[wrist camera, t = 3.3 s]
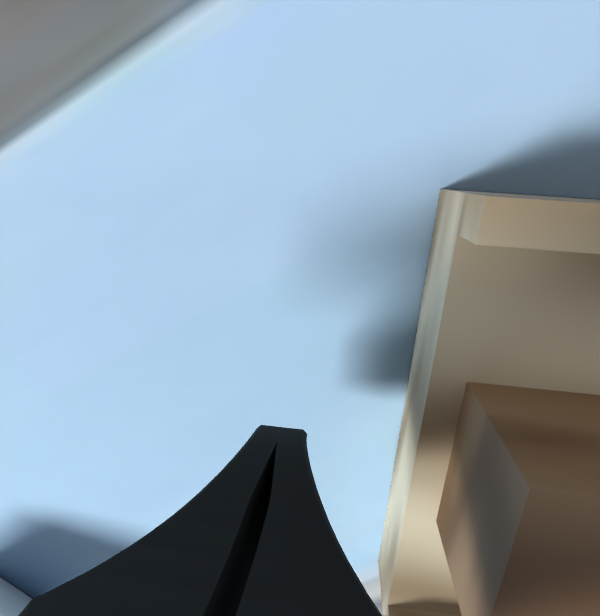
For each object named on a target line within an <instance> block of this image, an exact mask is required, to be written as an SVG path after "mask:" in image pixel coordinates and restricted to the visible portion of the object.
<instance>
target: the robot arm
mask: <svg viewBox="0 0 600 616" xmlns="http://www.w3.org/2000/svg"><path fill="white" fill-rule="evenodd" d="M306 438H307V433H306V432H305V431H304V430H301V429H292V428H283V427H274V426H265V425H261V426H259V427H258V428H257V429H256V430H255V432H254V433H253V434H252V436H251V437H250V438H249V440H248V441H247V442H246V443H245V445H244V446H243V447H242V448H241V449H240V451H239V452H238V453H237V454H236V455H235V456H234V457H233V459H232V460H231V461H230V462H229V463H228V464H227V465H226V466H225V467H224V469H223V470H222V471H221V472H220V473H219V474H218V475H217V476H216V477H215V478H214V479H213V480H212V481H211V482H210V483H209V484H208V485H207V486H206V487H205V488H203V489H202V490H201V491H200V492H199V493H198V494H197V495H196V496H195V497H194V498H193V499H192V500H190V501H189V502H188V503H187V504H186V505H185V506H183V507H182V508H181V509H180V510H179V511H177V512H176V513H175V514H174V515H172V516H171V517H170V518H169V519H167V520H166V521H165V522H163V523H162V524H161V525H159V526H158V527H157V528H155V529H154V530H152V531H151V532H150V533H148V534H147V535H146V536H144V537H143V538H141V539H140V540H138V541H137V542H135V543H134V544H132V545H131V546H129V547H128V548H126V549H124V550H123V551H121V552H120V553H118V554H116V555H115V556H113V557H112V558H110V559H108V560H107V561H105V562H103V563H102V564H100V565H98V566H96V567H95V568H93V569H91V570H89V571H87V572H86V573H84V574H82V575H80V576H78V577H76V578H74V579H72V580H70V581H68V582H66V583H64V584H62V585H61V586H59V587H57V588H55V589H53V590H51V591H49V592H47V593H45V594H43V595H41V596H39V597H37V598H34V599H32V600H31V601H30V602H29V603H28V604H27V606H26V607H25V608H24V609H23V611H22V612H21V613H20V614H19V615H18V616H382V615H381V613H380V612H379V610H378V609H377V607H376V606H375V604H374V603H373V601H372V600H371V598H370V597H369V595H368V594H367V592H366V590H365V589H364V587H363V585H362V583H361V582H360V580H359V578H358V577H357V575H356V573H355V572H354V570H353V568H352V566H351V565H350V563H349V561H348V560H347V558H346V556H345V554H344V552H343V550H342V548H341V546H340V544H339V542H338V540H337V538H336V536H335V533H334V531H333V529H332V527H331V525H330V522H329V520H328V518H327V515H326V513H325V510H324V507H323V505H322V502H321V499H320V497H319V494H318V491H317V488H316V484H315V481H314V477H313V474H312V470H311V466H310V462H309V457H308V451H307V442H306Z"/></svg>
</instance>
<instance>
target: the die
mask: <svg viewBox="0 0 600 616" xmlns="http://www.w3.org/2000/svg"><path fill="white" fill-rule="evenodd" d="M31 600H32V598H31V597H29V596H28V595H26V594H25V593H23V592H22V591H20V590H19V589H17V588H16V587H14V586H13V585H11V584H10V583H8V582H7V581H5V580H4V579H2V578H1V577H0V616H18V615H19V614H20V613H21V612H22V611H23V609H24V608H25V607H26V606H27V604H28V603H29V602H30V601H31Z"/></svg>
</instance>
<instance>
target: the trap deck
mask: <svg viewBox="0 0 600 616" xmlns="http://www.w3.org/2000/svg"><path fill="white" fill-rule="evenodd" d="M467 382H475V383H485V384H495V385H505V386H515V387H524V388H534V389H544V390H554V391H564V392H574V393H584V394H594V395H600V200H599V199H584V198H569V197H554V196H539V195H524V194H509V193H494V192H479V191H464V190H449V189H441V190H440V196H439V202H438V208H437V214H436V220H435V226H434V232H433V238H432V244H431V250H430V255H429V261H428V267H427V273H426V279H425V285H424V291H423V297H422V303H421V309H420V315H419V321H418V327H417V333H416V339H415V345H414V351H413V357H412V363H411V369H410V375H409V381H408V387H407V393H406V399H405V405H404V411H403V417H402V423H401V429H400V435H399V441H398V447H397V453H396V459H395V465H394V471H393V477H392V483H391V488H390V494H389V500H388V506H387V512H386V518H385V524H384V530H383V536H382V542H381V548H380V554H379V560H378V564H379V574H380V585H381V596H382V607H383V616H462V615H461V611H460V607H459V603H458V600H457V596H456V592H455V589H454V585H453V581H452V578H451V574H450V570H449V567H448V563H447V559H446V555H445V552H444V548H443V544H442V541H441V537H440V533H439V530H438V526H437V522H436V519H437V515H438V510H439V505H440V501H441V496H442V492H443V487H444V483H445V478H446V474H447V469H448V465H449V460H450V456H451V451H452V446H453V442H454V437H455V433H456V428H457V424H458V419H459V415H460V410H461V406H462V401H463V397H464V392H465V387H466V383H467Z"/></svg>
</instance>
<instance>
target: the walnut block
mask: <svg viewBox="0 0 600 616" xmlns="http://www.w3.org/2000/svg"><path fill="white" fill-rule="evenodd" d="M436 522H437V526H438V530H439V533H440V537H441V541H442V544H443V548H444V552H445V555H446V559H447V563H448V567H449V570H450V574H451V578H452V581H453V585H454V589H455V592H456V596H457V600H458V603H459V607H460V611H461V615H462V616H600V395H594V394H584V393H574V392H564V391H554V390H544V389H534V388H524V387H515V386H505V385H495V384H485V383H475V382H467V383H466V387H465V392H464V397H463V401H462V406H461V410H460V415H459V419H458V424H457V428H456V433H455V437H454V442H453V446H452V451H451V456H450V460H449V465H448V469H447V474H446V478H445V483H444V487H443V492H442V496H441V501H440V505H439V510H438V515H437V519H436Z"/></svg>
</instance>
